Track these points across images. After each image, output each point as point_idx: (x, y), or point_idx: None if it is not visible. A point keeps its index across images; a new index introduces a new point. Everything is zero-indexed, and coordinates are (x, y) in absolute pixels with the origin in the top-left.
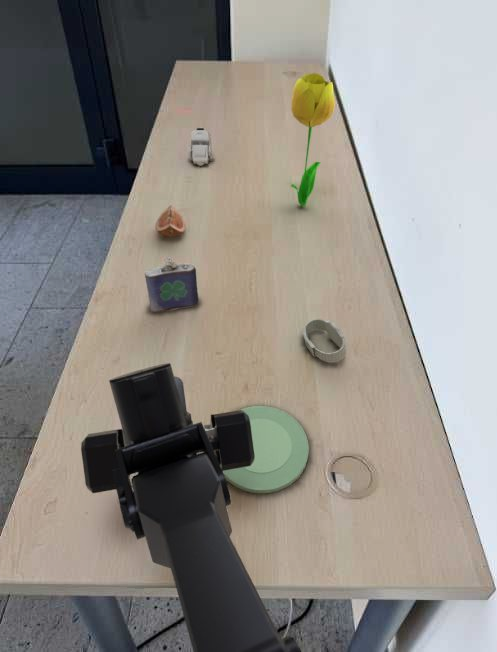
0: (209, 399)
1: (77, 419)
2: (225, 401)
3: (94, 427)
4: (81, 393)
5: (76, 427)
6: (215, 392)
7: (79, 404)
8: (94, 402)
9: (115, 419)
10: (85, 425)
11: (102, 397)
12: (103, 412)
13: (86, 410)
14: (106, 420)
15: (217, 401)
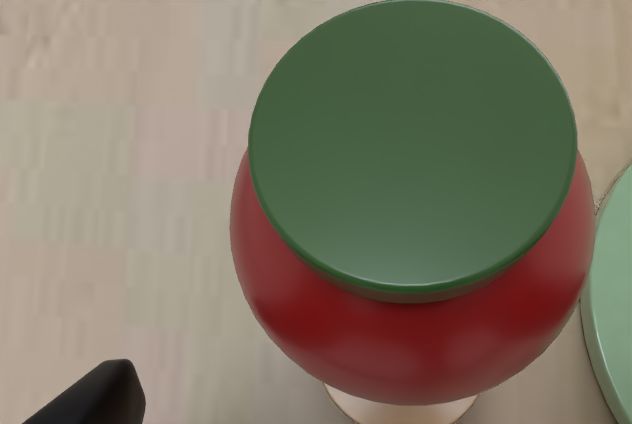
0: (544, 44)
1: (10, 115)
2: (622, 55)
3: (67, 152)
4: (33, 10)
5: (4, 148)
6: (570, 12)
7: (22, 53)
8: (75, 47)
9: (146, 121)
10: (36, 141)
11: (104, 27)
12: (104, 89)
13: (44, 79)
14: (113, 124)
15: (583, 55)
